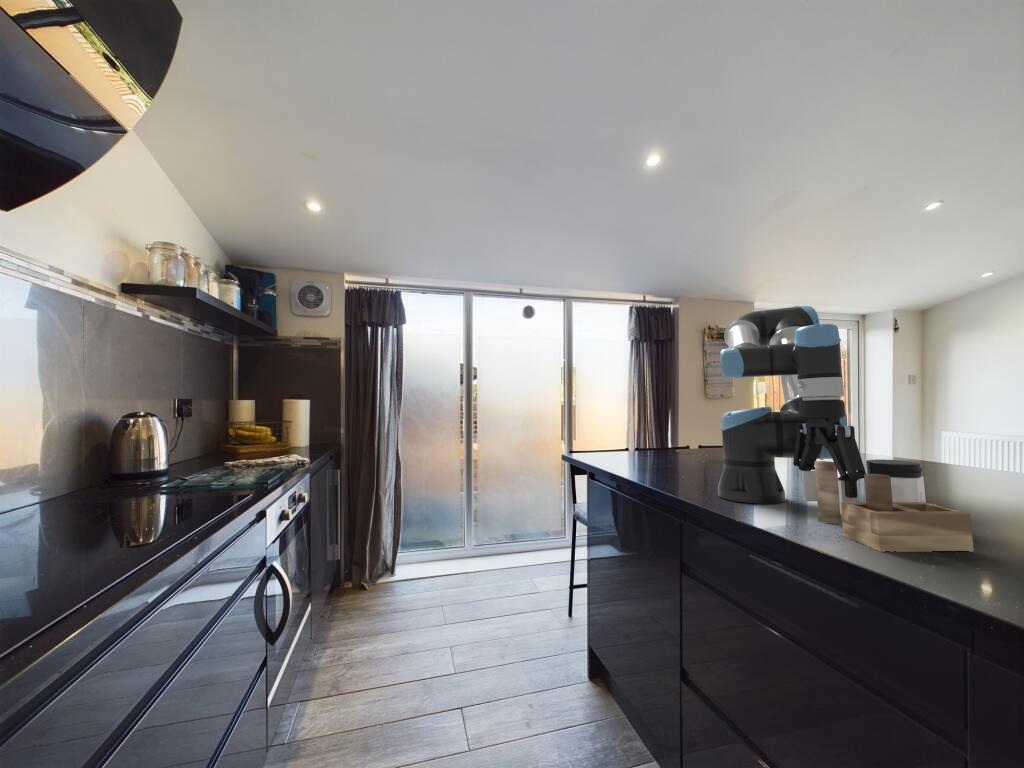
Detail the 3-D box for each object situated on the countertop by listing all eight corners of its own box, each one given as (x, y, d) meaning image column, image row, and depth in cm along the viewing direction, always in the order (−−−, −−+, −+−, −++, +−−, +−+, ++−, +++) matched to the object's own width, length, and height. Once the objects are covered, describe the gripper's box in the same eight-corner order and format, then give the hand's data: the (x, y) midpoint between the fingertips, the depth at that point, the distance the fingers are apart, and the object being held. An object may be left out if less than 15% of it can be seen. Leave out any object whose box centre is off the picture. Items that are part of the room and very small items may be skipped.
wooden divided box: (843, 536, 73) (840, 502, 74) (926, 536, 72) (923, 502, 73) (880, 551, 65) (877, 513, 66) (973, 551, 64) (970, 513, 65)
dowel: (814, 519, 84) (810, 461, 85) (832, 519, 84) (828, 461, 85) (826, 524, 81) (822, 463, 82) (845, 524, 80) (841, 463, 81)
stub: (862, 525, 71) (858, 473, 72) (883, 525, 71) (879, 473, 71) (878, 531, 68) (874, 477, 68) (900, 531, 67) (896, 476, 68)
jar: (919, 531, 75) (914, 466, 76) (863, 521, 82) (859, 461, 83) (932, 522, 80) (926, 461, 81) (878, 514, 87) (874, 458, 88)
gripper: (771, 400, 96) (777, 495, 94) (842, 398, 73) (851, 522, 71) (804, 399, 95) (811, 495, 94) (886, 396, 72) (897, 522, 71)
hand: (828, 507), depth 83 cm, fingers open, 10 cm apart
